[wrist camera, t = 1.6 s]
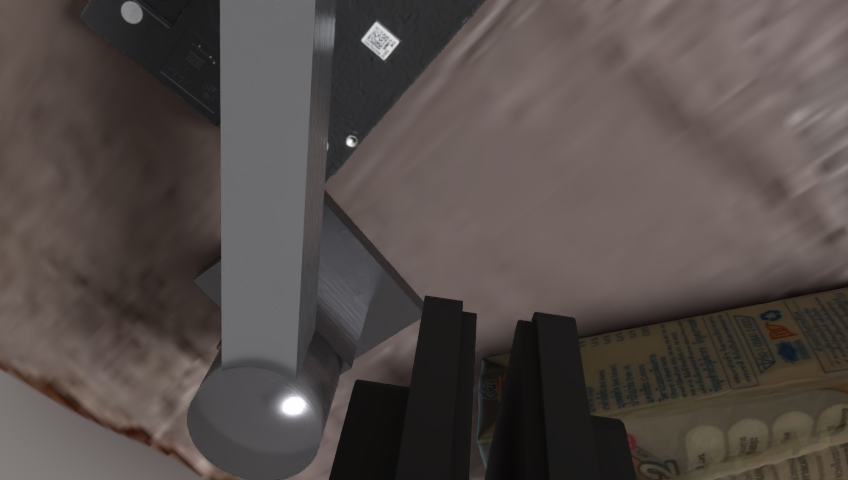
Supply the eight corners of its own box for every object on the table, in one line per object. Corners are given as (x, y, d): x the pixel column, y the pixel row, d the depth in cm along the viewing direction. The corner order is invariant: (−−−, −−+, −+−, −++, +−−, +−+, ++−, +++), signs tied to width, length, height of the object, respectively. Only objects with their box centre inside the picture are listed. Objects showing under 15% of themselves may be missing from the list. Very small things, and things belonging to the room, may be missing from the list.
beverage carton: (471, 346, 34) (466, 451, 28) (946, 253, 30) (1054, 352, 24) (514, 478, 37) (517, 596, 32) (946, 409, 34) (1041, 529, 28)
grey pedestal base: (319, 183, 31) (288, 241, 26) (426, 305, 33) (415, 377, 29) (199, 271, 33) (153, 338, 29) (307, 379, 35) (279, 456, 31)
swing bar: (336, 419, 29) (316, 490, 26) (222, 401, 29) (188, 470, 26) (389, -205, 20) (368, -214, 16) (219, -228, 20) (165, -241, 16)
